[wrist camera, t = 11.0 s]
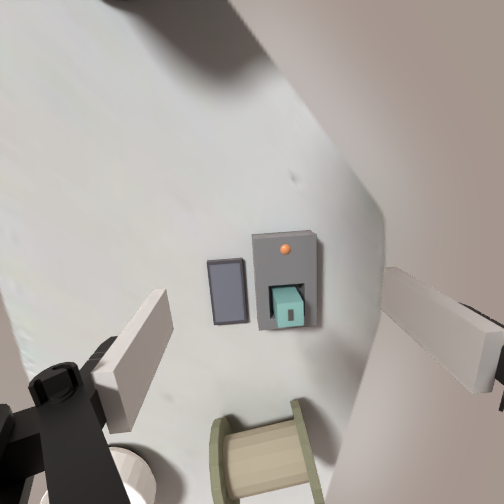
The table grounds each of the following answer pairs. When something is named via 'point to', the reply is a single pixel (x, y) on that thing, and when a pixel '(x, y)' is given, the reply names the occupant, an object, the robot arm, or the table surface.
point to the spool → (261, 459)
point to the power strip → (285, 272)
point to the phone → (227, 291)
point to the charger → (287, 306)
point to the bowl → (131, 477)
